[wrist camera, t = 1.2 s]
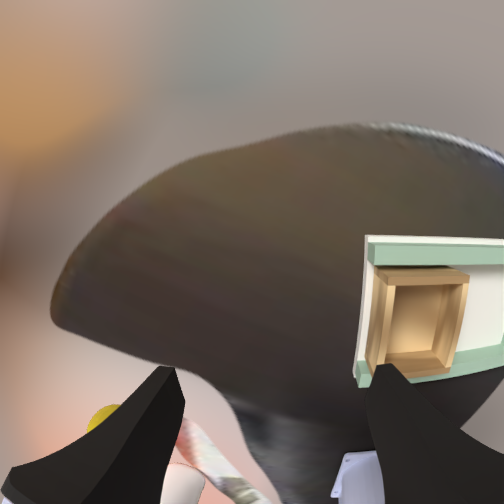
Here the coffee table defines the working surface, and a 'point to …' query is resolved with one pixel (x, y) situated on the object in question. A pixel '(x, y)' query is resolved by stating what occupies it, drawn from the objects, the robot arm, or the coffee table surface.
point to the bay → (477, 304)
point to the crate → (416, 318)
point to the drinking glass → (182, 485)
